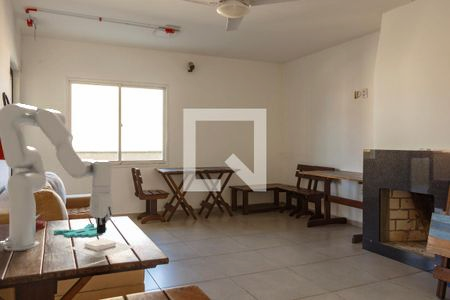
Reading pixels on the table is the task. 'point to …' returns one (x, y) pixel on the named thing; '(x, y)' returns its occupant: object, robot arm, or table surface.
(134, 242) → the table surface
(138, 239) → the table surface
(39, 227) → the canned food
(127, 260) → the table surface
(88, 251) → the mat
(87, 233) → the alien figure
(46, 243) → the table surface
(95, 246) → the tile
